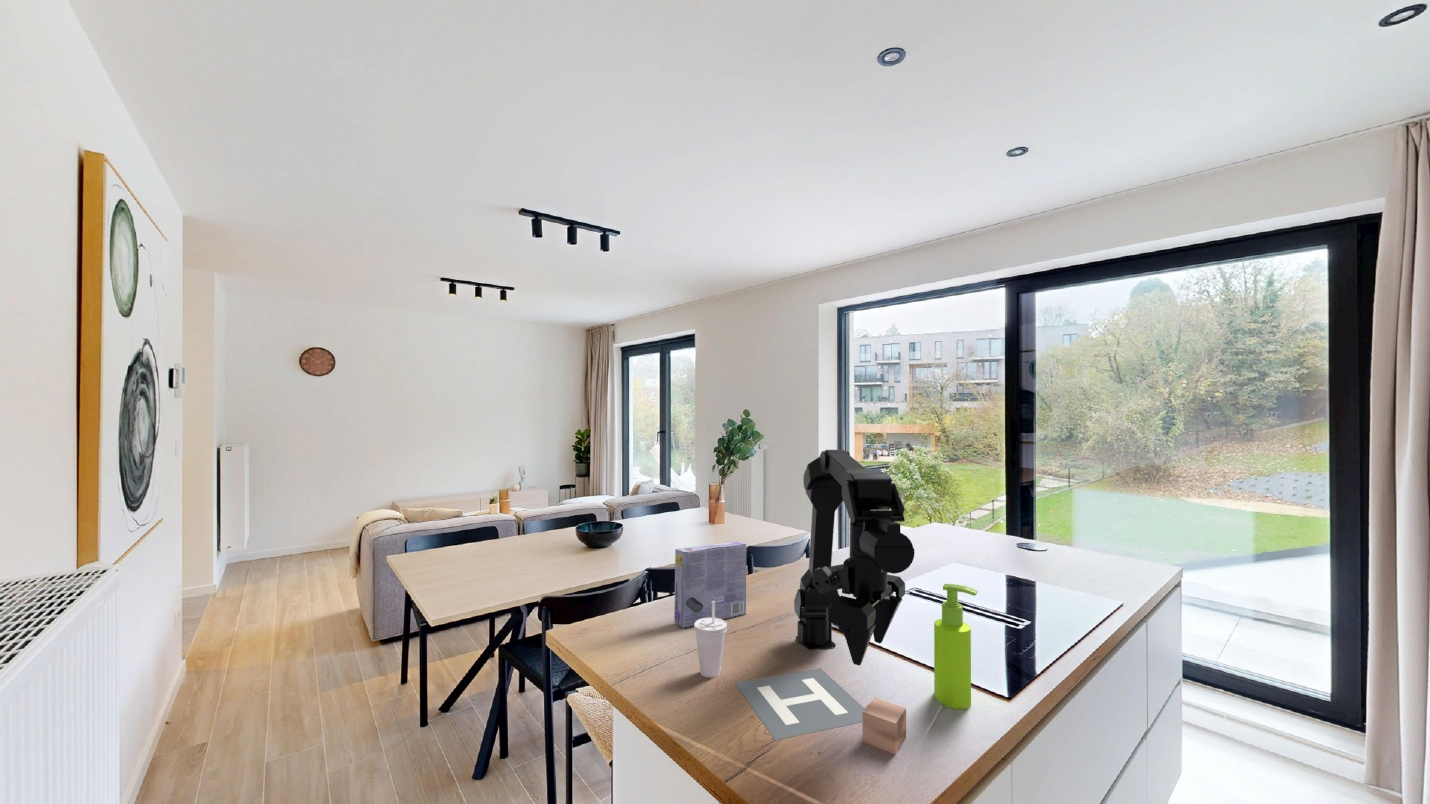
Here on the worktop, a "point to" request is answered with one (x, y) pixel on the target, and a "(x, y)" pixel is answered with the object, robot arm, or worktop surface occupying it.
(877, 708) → the terracotta block
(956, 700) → the soap dispenser
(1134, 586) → the worktop surface
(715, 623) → the smoothie
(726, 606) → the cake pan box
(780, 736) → the board
